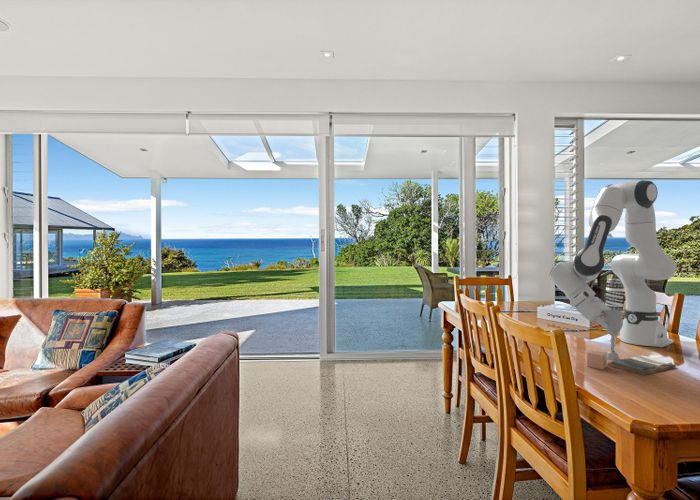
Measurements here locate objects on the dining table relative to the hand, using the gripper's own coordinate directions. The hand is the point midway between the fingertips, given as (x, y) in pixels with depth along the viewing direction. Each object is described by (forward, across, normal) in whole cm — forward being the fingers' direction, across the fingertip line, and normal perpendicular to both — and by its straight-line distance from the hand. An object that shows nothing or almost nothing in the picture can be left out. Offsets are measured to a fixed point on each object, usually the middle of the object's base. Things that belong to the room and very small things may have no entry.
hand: (610, 325), depth 162 cm
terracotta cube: (+9, +15, -9) cm, 20 cm away
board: (+16, +4, -1) cm, 17 cm away
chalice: (+9, 0, -8) cm, 13 cm away
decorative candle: (-1, -65, -19) cm, 68 cm away
